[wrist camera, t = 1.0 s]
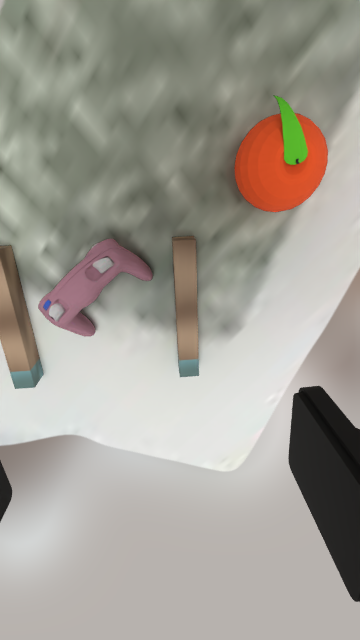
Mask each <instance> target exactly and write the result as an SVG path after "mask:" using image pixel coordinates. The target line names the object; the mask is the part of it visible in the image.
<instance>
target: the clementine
mask: <svg viewBox="0 0 360 640" xmlns="http://www.w3.org/2000/svg"><path fill="white" fill-rule="evenodd" d="M274 97H275V98H276V99H277V101H278V104H279V107H280V112H281V114H277V115H272V116H270V117H268V118H266V119H264V120H262V121H260V122H259V123H258V124H257V125H255V126H254V127H253V128H252V129H251V130H250V131H249V133H248V134H247V135H246V137H245V138H244V140H243V141H242V143H241V145H240V147H239V150H238V153H237V155H236V161H235V179H236V183H237V185H238V188H239V191H240V192H241V194H242V195H243V197H244V198H245V199H246V200H247V201H248V202H249V203H251V204H252V205H253V206H255V207H256V208H259V209H261V210H264V211H270V212H279V211H284V210H289V209H292V208H294V207H296V206H298V205H300V204H301V203H303V202H304V201H305V200H306V199H308V198H309V197H310V196H311V195H312V193H313V192H314V191H315V190H316V188H317V187H318V186H319V184H320V182H321V180H322V178H323V176H324V174H325V170H326V166H327V156H328V150H327V145H326V141H325V138H324V136H323V134H322V132H321V130H320V129H319V128H318V127H317V126H316V125H315V124H314V123H313V122H312V121H311V120H310V119H308V118H306V117H304V116H302V115H300V114H296V113H294V112H293V110H292V109H291V107H290V106H289V104H288V103H287V102H286V101H285V100H284V99H282V98H281V97H278V96H275V95H274Z"/></svg>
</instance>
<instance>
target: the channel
mask: <svg viewBox="0 0 360 640" xmlns="http://www.w3.org/2000/svg"><path fill="white" fill-rule="evenodd" d="M172 247H173V266H174V285H175V305H176V324H177V344H178V363H179V373H180V377H188V376H199V359H198V315H197V270H196V239H195V238H194V237H193V236H184V237H172ZM0 340H1V343H2V347H3V350H4V353H5V357H6V360H7V363H8V367H9V370H10V374H11V377H12V380H13V384H14V387H15V389H19V388H33V387H35V386H36V385H37V383H38V382H39V380H40V379H41V377H42V376H43V371H42V367H41V363H40V359H39V355H38V351H37V347H36V343H35V339H34V335H33V331H32V327H31V323H30V319H29V315H28V311H27V307H26V303H25V299H24V295H23V291H22V287H21V283H20V279H19V275H18V271H17V267H16V263H15V259H14V255H13V251H12V247H11V246H0Z"/></svg>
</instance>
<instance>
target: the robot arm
mask: <svg viewBox="0 0 360 640" xmlns="http://www.w3.org/2000/svg"><path fill="white" fill-rule="evenodd" d="M289 465H290V468H291V471H292V473H293V475H294V478H295V480H296V481H297V484H298V486H299V488H300V490H301V492H302V495H303V497H304V499H305V501H306V503H307V505H308V507H309V509H310V512H311V514H312V516H313V518H314V520H315V522H316V524H317V526H318V529H319V530H320V533H321V535H322V537H323V539H324V541H325V543H326V546H327V548H328V550H329V552H330V554H331V556H332V558H333V560H334V563H335V565H336V567H337V569H338V571H339V573H340V575H341V577H342V580H343V582H344V584H345V586H346V588H347V590H348V592H349V594H350V596H351V597H352V599H353V600H354V601H356V602H358V601H360V429H358V428H355V427H354V425H353V424H352V423H351V422H350V421H349V420H348V418H347V417H346V416H345V415H344V414H343V412H342V411H341V410H340V409H339V407H338V406H337V405H336V404H335V403H334V402H333V400H332V399H331V398H330V397H329V395H328V394H327V393H326V392H325V390H324V389H323V388H321V387H320V386H313V387H303V388H300V390H299V393H295V394H294V396H293V408H292V420H291V433H290V445H289ZM11 497H12V488H11V485H10V483H9V480H8V478H7V476H6V473H5V471H4V468H3V466H2V464H1V461H0V521H1V519H2V517H3V515H4V513H5V511H6V509H7V507H8V505H9V503H10V501H11Z"/></svg>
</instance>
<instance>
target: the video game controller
mask: <svg viewBox="0 0 360 640" xmlns="http://www.w3.org/2000/svg"><path fill="white" fill-rule="evenodd" d="M120 272H127V273H129V274H132V275H134V276H136V277H138V278H139V279H141V280H146V281H150V280H151V279H152V278H153V274H152V271H151V269H150V268H149V266H148V265H147V264H146V263H145V262H144V261H143V260H142V259H141V258H139V257H138V256H137V255H135V254H134V253H132V252H131V251H129V250H127V249H125V248H124V247H122V246H120V245H119V244H118V243H117V242H116V240H114V239H106V240H104V241H102V242H100V243H96V244H94V245H93V246H92V248H91V249H90V251H89V252H88V253H87V255H86V256H85V259H84V260H82V261H81V262H80V263H79V264H77V265H76V266H75V267H74V268H73V269H72V270H71V271H70V272H69V273H68V274H67V275H66V276H65V277H64V278H63V279H62V280H61V281H60V282H59V283H58V284H57V286H56V287H55V288H54V289H53V291H51V292H50V293H48V294H47V295H46V296H44V297H43V298H42V300H41V301H40V303H39V305H38V308H39V310H40V311H41V312H42V313H43V315H44V316H45V317H46V318H47V319H48V320H49V321H50V322H51V323H53V324H54V325H56V326H58V327H60V328H63V329H66V330H68V331H71V332H74V333H76V334H79V335H82V336H92V335H94V334H95V327H94V325H93V324H92V323H91V321H90V320H89V319H88V318H87V317H86V316H84V315H83V314H81V313H80V310H81V309H82V308H84V307H86V306H88V305H89V304H91V303H92V302H93V301H94V300H96V298H97V297H98V296H99V294H100V293H101V291H102V289H103V288H104V287H105V286H106V285H107V284H108V283H109V282H110V281H111V280H112V279H113V278H114V277H116V276H117V275H118V274H119V273H120Z"/></svg>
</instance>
